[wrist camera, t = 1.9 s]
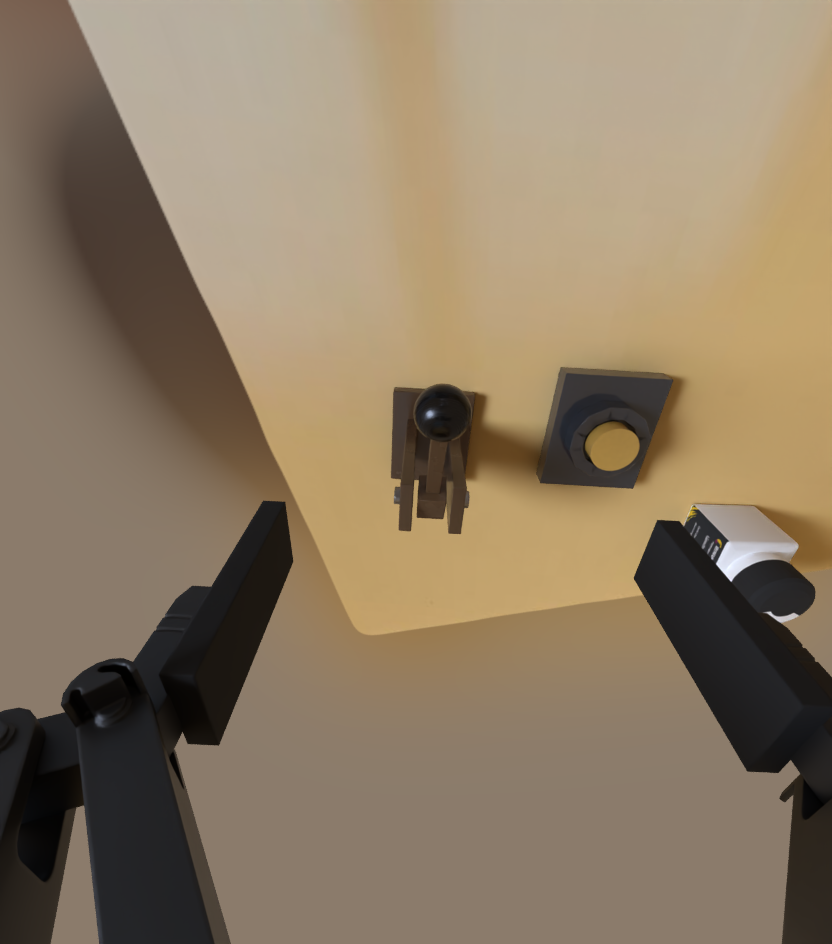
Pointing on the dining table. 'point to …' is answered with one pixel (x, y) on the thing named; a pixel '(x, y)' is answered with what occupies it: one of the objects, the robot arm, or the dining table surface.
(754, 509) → the medicine bottle
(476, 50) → the dining table surface
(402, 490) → the lever bracket
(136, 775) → the robot arm
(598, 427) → the tan short cylinder
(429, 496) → the flush lever
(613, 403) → the button base
